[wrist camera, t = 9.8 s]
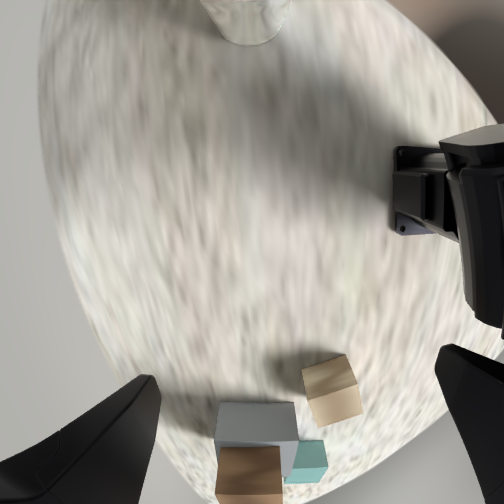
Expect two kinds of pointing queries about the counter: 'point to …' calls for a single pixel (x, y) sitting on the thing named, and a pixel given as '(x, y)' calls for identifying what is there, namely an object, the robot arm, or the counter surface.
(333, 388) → the maple cube
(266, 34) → the cup with straw
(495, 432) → the robot arm
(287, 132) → the counter surface
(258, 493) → the walnut cube
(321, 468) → the teal cube
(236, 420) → the grey cube
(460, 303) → the counter surface
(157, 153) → the counter surface
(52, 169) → the counter surface
